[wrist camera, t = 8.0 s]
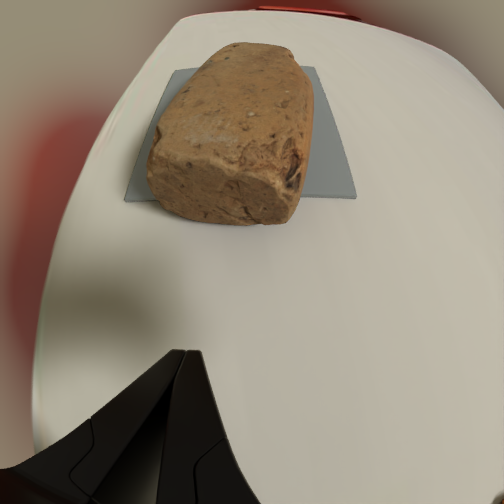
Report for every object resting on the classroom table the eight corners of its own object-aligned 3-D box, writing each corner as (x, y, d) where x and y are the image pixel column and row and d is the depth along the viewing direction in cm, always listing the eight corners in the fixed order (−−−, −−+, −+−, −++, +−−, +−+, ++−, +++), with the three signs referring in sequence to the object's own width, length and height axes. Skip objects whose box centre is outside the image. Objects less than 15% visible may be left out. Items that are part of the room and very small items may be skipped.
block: (120, 153, 14) (218, 37, 23) (155, 221, 21) (223, 90, 30) (311, 172, 13) (319, 45, 22) (294, 245, 20) (312, 99, 29)
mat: (126, 202, 23) (124, 199, 22) (175, 72, 33) (174, 70, 32) (355, 198, 22) (357, 196, 22) (313, 69, 33) (314, 66, 32)
